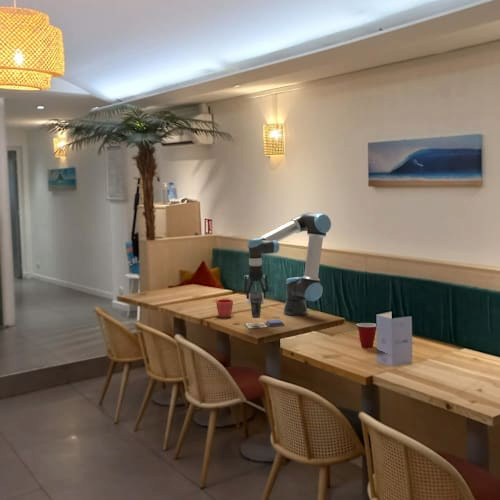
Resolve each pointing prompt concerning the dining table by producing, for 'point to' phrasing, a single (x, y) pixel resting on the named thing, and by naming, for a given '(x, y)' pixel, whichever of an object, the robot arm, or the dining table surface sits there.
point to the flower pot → (224, 307)
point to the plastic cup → (366, 334)
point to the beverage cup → (255, 303)
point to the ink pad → (274, 323)
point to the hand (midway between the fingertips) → (255, 304)
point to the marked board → (256, 325)
